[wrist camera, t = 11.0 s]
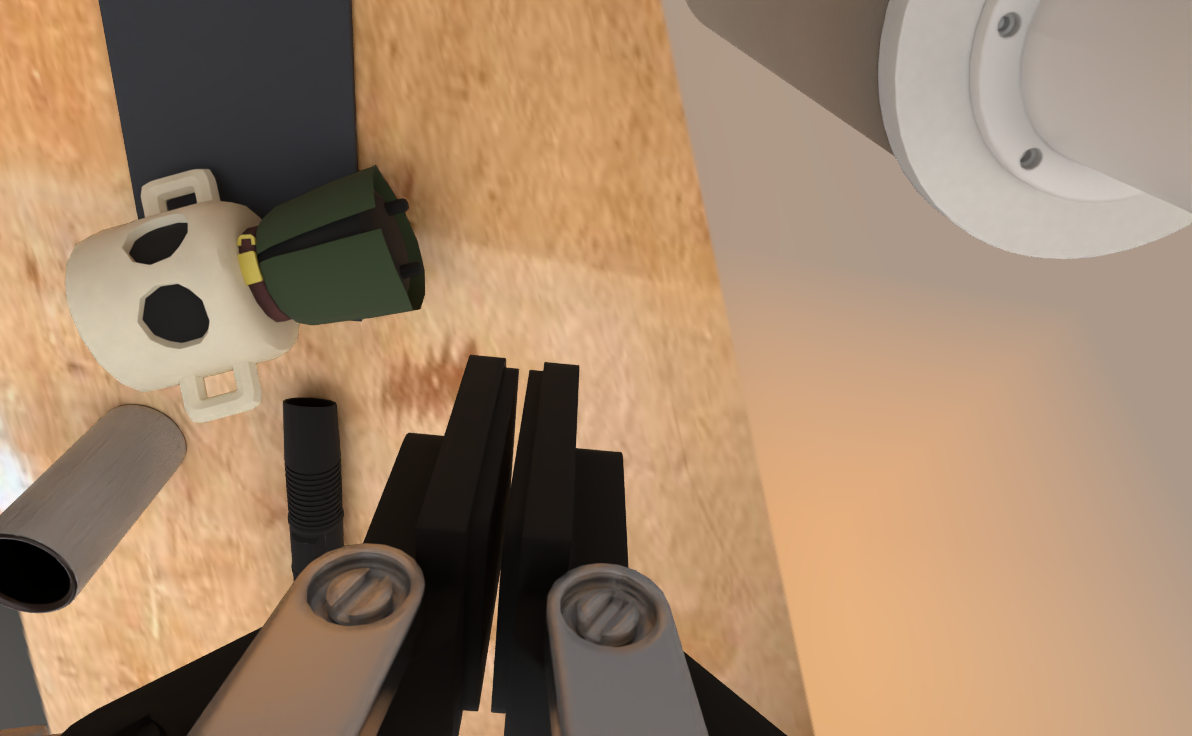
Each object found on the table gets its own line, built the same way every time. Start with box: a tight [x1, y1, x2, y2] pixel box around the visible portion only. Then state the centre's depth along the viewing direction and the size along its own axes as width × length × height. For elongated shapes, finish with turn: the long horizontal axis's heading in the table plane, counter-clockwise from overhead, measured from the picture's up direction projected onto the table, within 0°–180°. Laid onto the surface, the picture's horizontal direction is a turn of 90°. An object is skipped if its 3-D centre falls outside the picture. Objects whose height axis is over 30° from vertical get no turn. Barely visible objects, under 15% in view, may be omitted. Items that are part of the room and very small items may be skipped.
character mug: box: [65, 165, 425, 423], centre depth 33 cm, size 11×7×13 cm
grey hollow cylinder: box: [0, 405, 186, 613], centre depth 37 cm, size 4×4×10 cm
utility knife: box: [283, 398, 344, 581], centre depth 44 cm, size 22×4×3 cm, turn 173°
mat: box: [99, 0, 363, 321], centre depth 34 cm, size 10×17×1 cm, turn 174°
